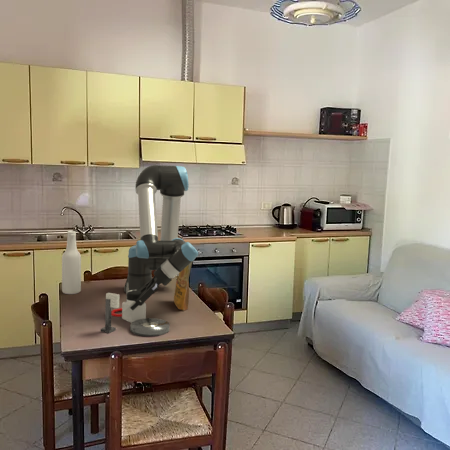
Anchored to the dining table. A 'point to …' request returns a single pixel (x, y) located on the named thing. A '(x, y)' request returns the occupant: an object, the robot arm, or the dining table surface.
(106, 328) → the gray upright stand
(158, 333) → the disc
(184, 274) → the pancake mix bag
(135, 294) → the medicine bottle
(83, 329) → the dining table surface
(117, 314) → the tow hook
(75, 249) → the alcohol
